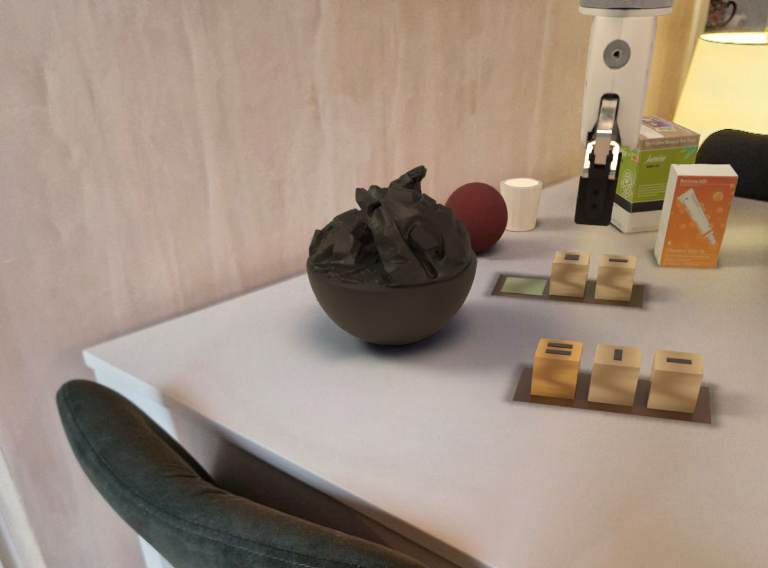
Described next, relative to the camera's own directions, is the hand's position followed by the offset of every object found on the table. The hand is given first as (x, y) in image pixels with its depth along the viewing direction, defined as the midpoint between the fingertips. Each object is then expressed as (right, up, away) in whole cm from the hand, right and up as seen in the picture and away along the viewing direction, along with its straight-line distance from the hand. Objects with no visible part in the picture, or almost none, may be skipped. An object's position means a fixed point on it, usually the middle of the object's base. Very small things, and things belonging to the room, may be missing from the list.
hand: (595, 208), depth 73 cm
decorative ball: (-6, +12, +47) cm, 49 cm away
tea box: (+22, +20, +56) cm, 64 cm away
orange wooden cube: (-2, -15, +10) cm, 19 cm away
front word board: (+4, -17, +9) cm, 20 cm away
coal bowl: (-19, -7, +23) cm, 31 cm away
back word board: (+5, +1, +32) cm, 32 cm away
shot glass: (+2, +19, +56) cm, 59 cm away
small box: (+24, +8, +40) cm, 47 cm away
